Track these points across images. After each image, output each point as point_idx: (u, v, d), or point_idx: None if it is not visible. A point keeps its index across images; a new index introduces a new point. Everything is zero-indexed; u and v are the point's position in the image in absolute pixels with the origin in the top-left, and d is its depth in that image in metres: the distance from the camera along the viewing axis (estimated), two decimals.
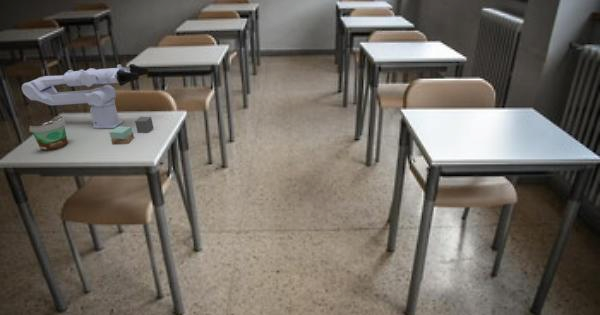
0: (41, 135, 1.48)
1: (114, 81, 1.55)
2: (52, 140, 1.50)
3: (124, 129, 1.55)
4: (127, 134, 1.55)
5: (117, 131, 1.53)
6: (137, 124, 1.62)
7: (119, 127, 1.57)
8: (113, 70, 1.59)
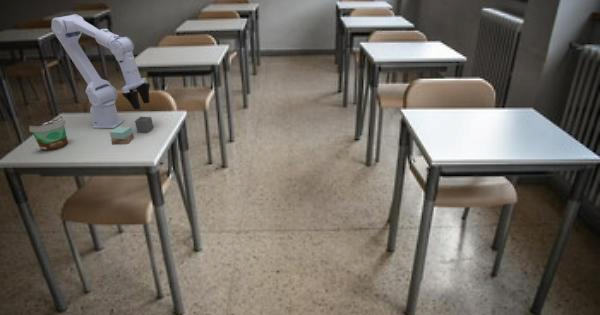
0: (41, 135, 1.48)
1: (124, 91, 1.51)
2: (52, 140, 1.50)
3: (124, 129, 1.55)
4: (127, 134, 1.55)
5: (117, 131, 1.53)
6: (137, 124, 1.62)
7: (119, 127, 1.57)
8: (136, 78, 1.55)
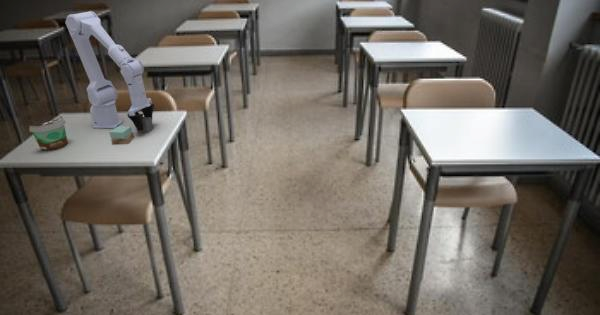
0: (41, 135, 1.48)
1: (130, 114, 1.54)
2: (52, 140, 1.50)
3: (124, 129, 1.55)
4: (127, 134, 1.55)
5: (117, 131, 1.53)
6: None
7: (119, 127, 1.57)
8: (142, 101, 1.58)
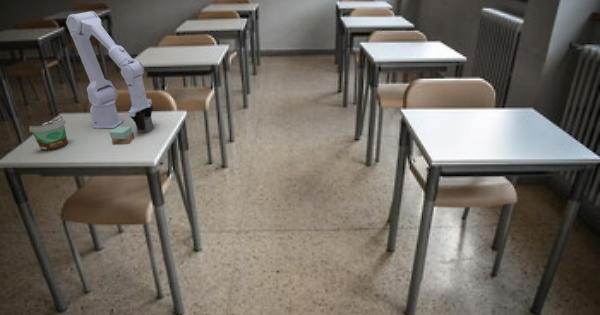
0: (41, 135, 1.48)
1: (130, 114, 1.54)
2: (52, 140, 1.50)
3: (124, 129, 1.55)
4: (127, 134, 1.55)
5: (118, 131, 1.53)
6: None
7: (119, 127, 1.56)
8: (143, 102, 1.58)
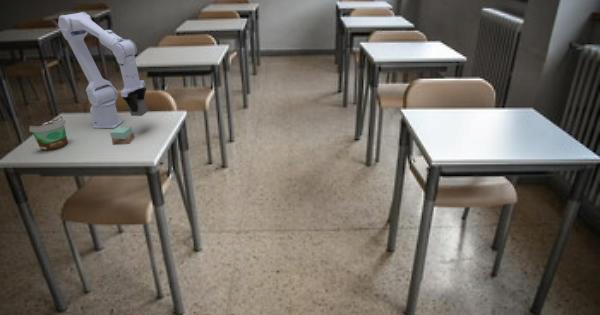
0: (41, 135, 1.48)
1: (122, 95, 1.50)
2: (52, 140, 1.50)
3: (125, 129, 1.55)
4: (128, 134, 1.55)
5: (118, 131, 1.53)
6: None
7: (119, 127, 1.56)
8: (135, 83, 1.53)
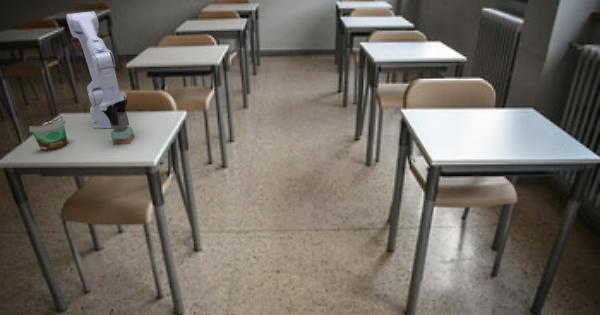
0: (41, 135, 1.48)
1: (101, 108, 1.44)
2: (52, 140, 1.50)
3: (125, 129, 1.54)
4: (128, 134, 1.55)
5: (118, 131, 1.53)
6: None
7: None
8: (115, 95, 1.47)
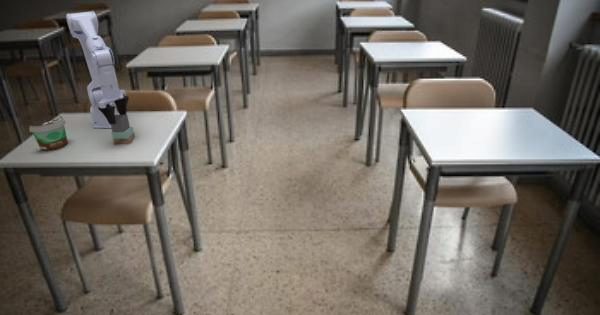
0: (41, 135, 1.48)
1: (100, 106, 1.43)
2: (52, 140, 1.50)
3: None
4: (130, 134, 1.55)
5: None
6: None
7: None
8: (114, 93, 1.46)
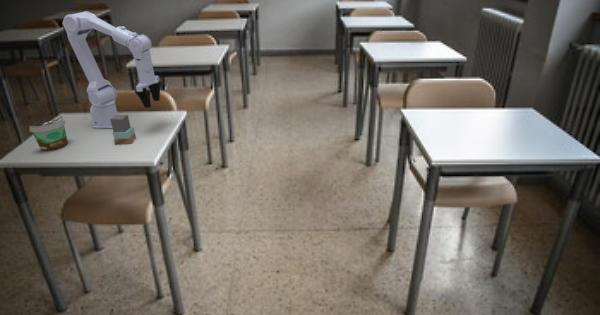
0: (41, 135, 1.48)
1: (137, 89, 1.52)
2: (52, 140, 1.50)
3: None
4: (131, 134, 1.55)
5: None
6: (113, 122, 1.51)
7: None
8: (150, 77, 1.55)
